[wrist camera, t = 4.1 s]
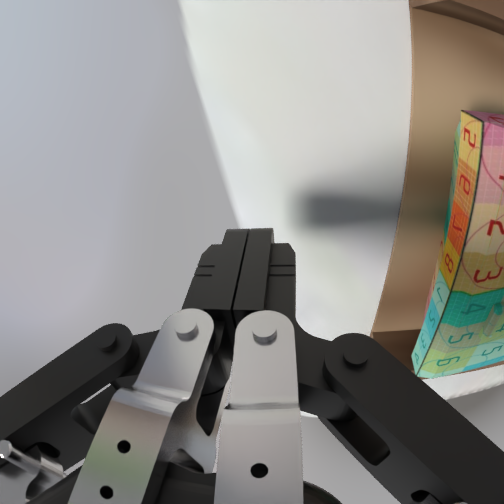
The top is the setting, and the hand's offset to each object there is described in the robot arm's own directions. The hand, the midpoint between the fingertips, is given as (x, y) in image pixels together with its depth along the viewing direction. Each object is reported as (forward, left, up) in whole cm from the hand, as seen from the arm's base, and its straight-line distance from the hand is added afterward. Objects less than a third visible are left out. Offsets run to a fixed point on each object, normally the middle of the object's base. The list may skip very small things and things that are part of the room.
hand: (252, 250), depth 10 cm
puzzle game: (0, +17, -3) cm, 17 cm away
